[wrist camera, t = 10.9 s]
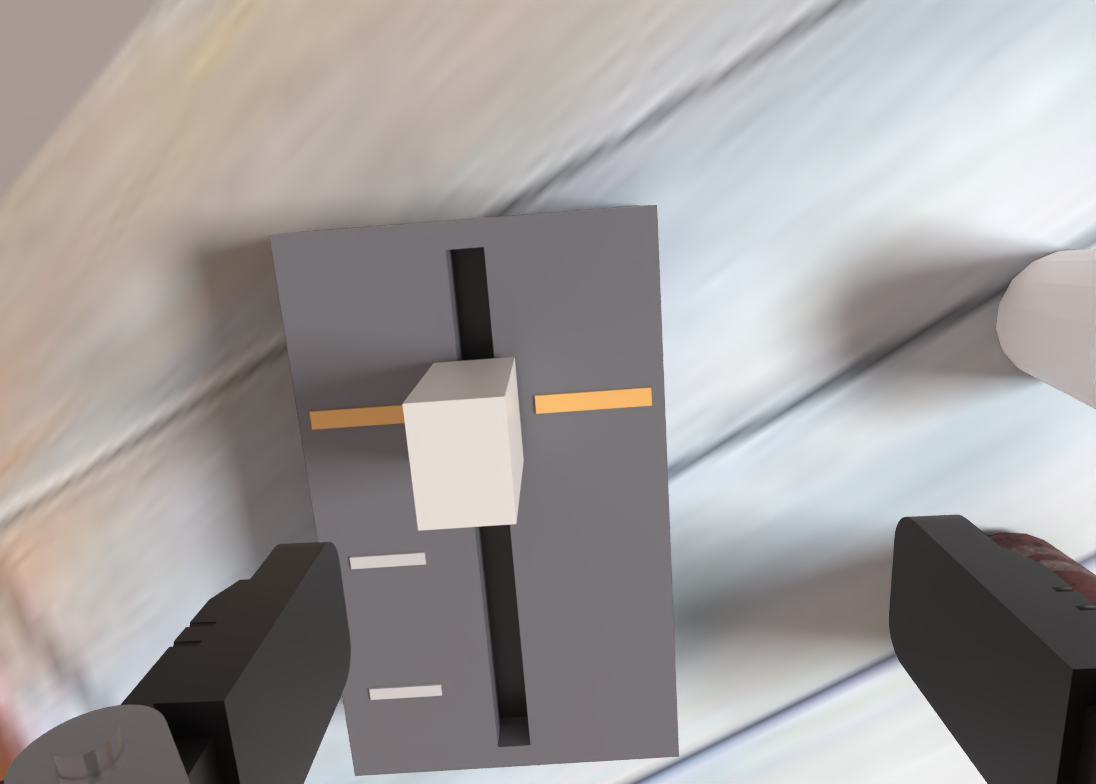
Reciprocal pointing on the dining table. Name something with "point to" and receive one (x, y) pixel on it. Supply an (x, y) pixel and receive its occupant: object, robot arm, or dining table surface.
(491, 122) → the dining table surface
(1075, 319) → the white cylinder
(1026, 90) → the dining table surface
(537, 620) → the slider control panel
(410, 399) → the fader knob
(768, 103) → the dining table surface
